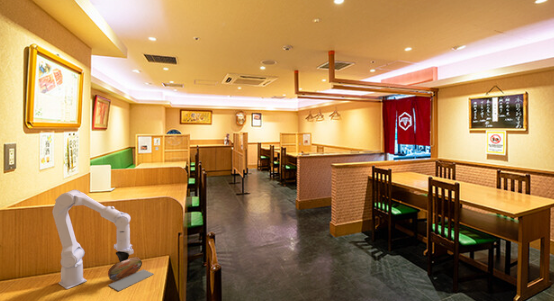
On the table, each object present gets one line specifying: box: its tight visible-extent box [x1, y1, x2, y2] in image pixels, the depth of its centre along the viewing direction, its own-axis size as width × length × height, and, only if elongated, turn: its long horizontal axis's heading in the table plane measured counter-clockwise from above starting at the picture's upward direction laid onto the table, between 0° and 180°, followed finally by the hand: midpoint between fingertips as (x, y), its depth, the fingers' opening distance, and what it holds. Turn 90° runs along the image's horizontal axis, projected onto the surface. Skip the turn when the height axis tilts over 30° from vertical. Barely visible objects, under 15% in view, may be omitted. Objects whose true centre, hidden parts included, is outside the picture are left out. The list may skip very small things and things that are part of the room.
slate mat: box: [107, 268, 155, 292], centre depth 122 cm, size 9×17×1 cm, turn 149°
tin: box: [107, 256, 143, 282], centre depth 125 cm, size 15×3×8 cm, turn 143°
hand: (123, 265), depth 126 cm, fingers closed
